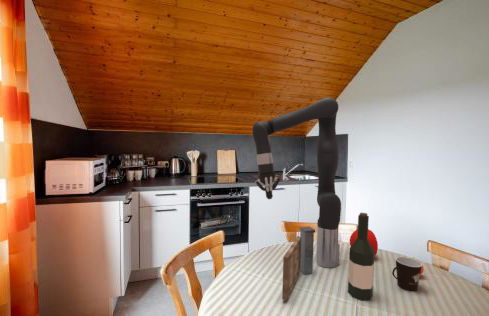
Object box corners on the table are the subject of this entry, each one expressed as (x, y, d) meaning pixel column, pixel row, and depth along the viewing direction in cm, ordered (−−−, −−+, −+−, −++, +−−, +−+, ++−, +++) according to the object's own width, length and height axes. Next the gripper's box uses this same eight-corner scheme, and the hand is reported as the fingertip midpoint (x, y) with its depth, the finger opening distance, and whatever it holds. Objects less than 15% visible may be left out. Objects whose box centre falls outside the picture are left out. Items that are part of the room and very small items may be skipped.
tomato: (380, 257, 123) (382, 228, 122) (372, 264, 115) (373, 234, 114) (354, 249, 132) (355, 222, 131) (345, 255, 124) (346, 227, 123)
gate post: (307, 268, 110) (309, 226, 109) (313, 274, 106) (315, 230, 104) (298, 270, 109) (299, 227, 108) (303, 275, 104) (304, 230, 103)
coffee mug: (412, 281, 101) (413, 257, 101) (425, 294, 93) (427, 267, 92) (382, 279, 102) (383, 255, 102) (392, 291, 94) (394, 265, 93)
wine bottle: (362, 303, 86) (366, 218, 85) (342, 290, 94) (346, 211, 92) (377, 297, 90) (381, 215, 89) (357, 285, 98) (361, 209, 96)
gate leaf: (296, 271, 106) (297, 236, 105) (300, 271, 105) (301, 236, 105) (282, 299, 87) (283, 256, 86) (286, 300, 86) (287, 257, 85)
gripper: (254, 164, 115) (259, 202, 115) (280, 161, 119) (285, 197, 119) (250, 165, 123) (254, 200, 122) (275, 161, 126) (279, 196, 126)
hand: (269, 198), depth 120 cm, fingers closed
